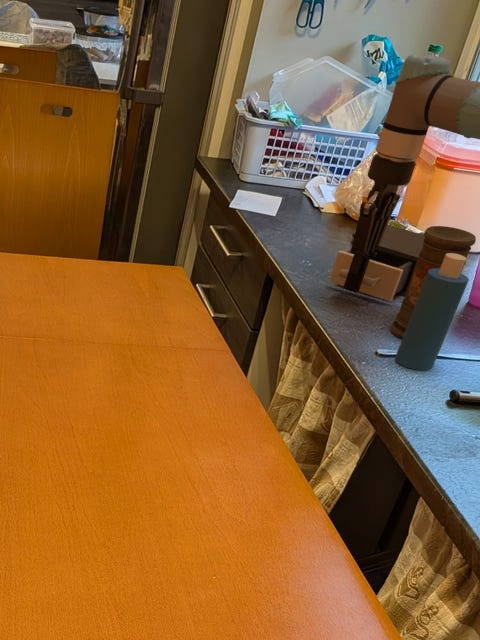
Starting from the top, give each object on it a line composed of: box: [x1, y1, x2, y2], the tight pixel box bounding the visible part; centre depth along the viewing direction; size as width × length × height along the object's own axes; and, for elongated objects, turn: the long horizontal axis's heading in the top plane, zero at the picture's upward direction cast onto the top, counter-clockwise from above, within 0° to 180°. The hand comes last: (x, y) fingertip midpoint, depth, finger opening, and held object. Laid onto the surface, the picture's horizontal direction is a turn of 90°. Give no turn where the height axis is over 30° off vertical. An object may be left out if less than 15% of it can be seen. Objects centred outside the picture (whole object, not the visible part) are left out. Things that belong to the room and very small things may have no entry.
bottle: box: [394, 253, 470, 371], centre depth 155 cm, size 6×6×18 cm
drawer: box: [328, 249, 416, 302], centre depth 186 cm, size 20×13×6 cm, turn 139°
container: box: [390, 225, 477, 340], centre depth 165 cm, size 9×9×18 cm
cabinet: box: [377, 224, 425, 298], centre depth 192 cm, size 17×14×8 cm
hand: (351, 289), depth 180 cm, fingers closed
